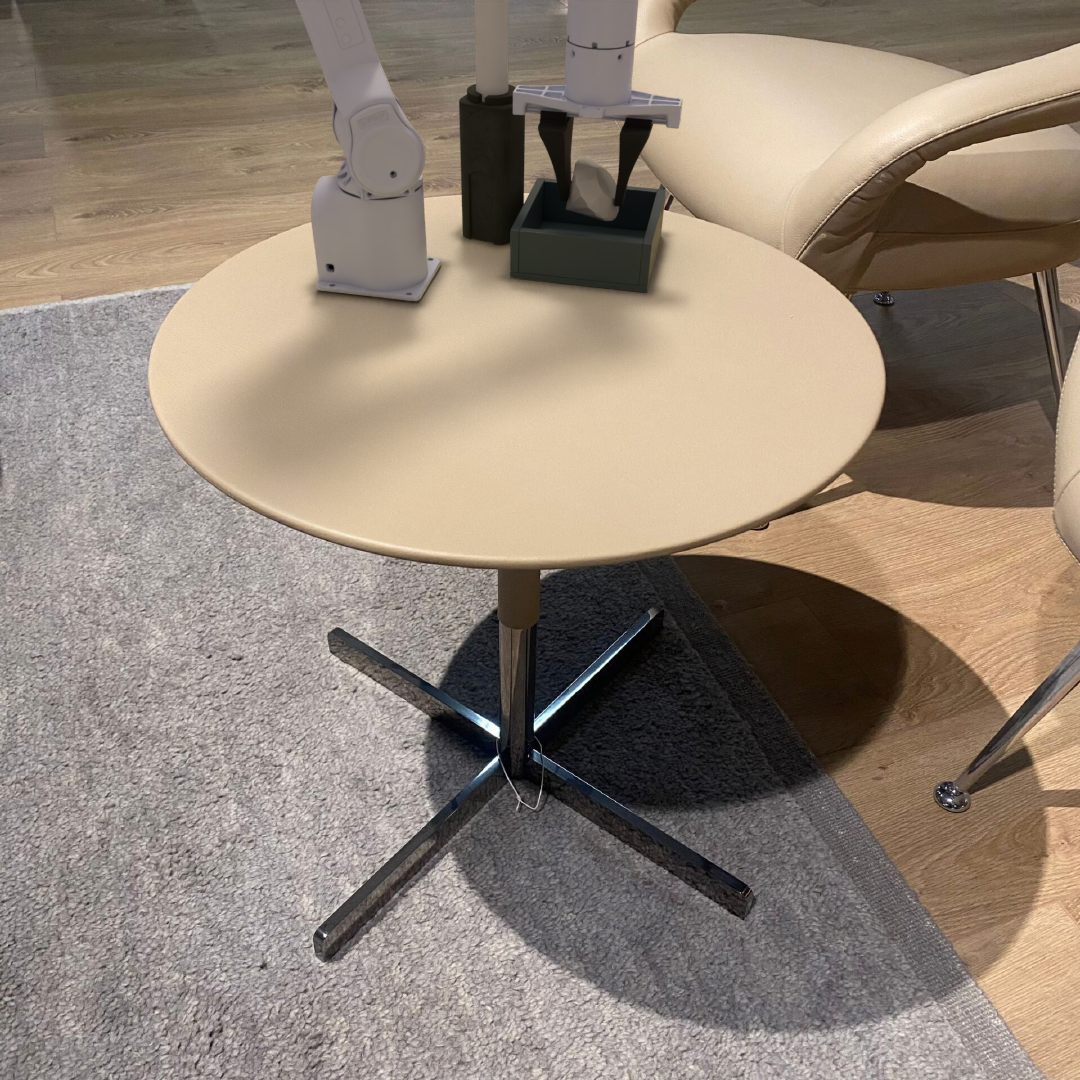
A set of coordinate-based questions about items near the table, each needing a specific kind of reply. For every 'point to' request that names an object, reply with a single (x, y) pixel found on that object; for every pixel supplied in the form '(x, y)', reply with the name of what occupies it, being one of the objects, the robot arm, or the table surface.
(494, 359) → the table surface
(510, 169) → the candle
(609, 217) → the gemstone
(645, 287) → the bin
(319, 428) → the table surface
